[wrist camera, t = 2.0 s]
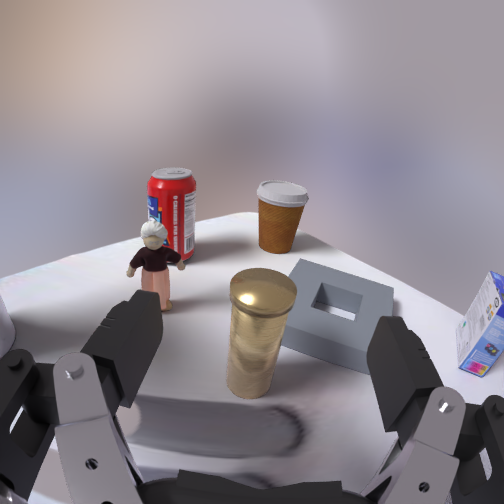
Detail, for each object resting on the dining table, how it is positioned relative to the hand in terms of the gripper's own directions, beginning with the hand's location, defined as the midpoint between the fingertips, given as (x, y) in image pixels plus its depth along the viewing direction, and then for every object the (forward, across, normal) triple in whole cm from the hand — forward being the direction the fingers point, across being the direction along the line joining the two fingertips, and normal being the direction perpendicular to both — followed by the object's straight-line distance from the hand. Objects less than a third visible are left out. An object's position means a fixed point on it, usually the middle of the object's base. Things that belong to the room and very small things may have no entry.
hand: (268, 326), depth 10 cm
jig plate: (+25, -10, +18) cm, 33 cm away
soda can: (+37, +16, +17) cm, 44 cm away
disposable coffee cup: (+45, -2, +16) cm, 48 cm away
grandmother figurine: (+23, +14, +18) cm, 32 cm away
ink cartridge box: (+19, -34, +20) cm, 43 cm away
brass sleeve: (+13, 0, +19) cm, 23 cm away
